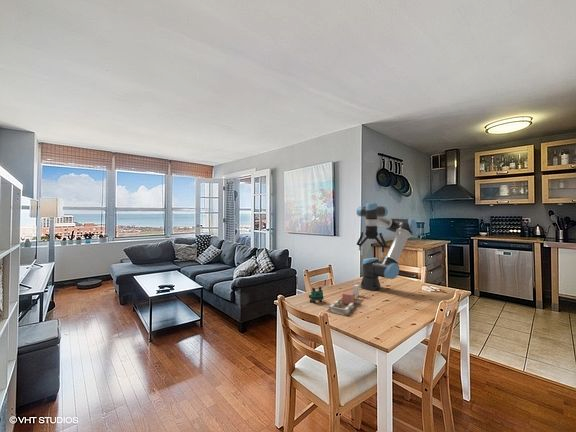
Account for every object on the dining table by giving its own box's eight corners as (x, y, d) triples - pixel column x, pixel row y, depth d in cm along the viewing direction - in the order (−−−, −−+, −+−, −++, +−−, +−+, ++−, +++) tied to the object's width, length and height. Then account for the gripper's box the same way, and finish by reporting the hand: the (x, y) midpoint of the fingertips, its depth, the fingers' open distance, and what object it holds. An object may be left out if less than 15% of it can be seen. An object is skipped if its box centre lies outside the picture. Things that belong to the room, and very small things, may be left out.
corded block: (352, 295, 183) (353, 284, 183) (361, 297, 180) (361, 285, 180) (342, 303, 164) (342, 290, 165) (351, 304, 161) (351, 292, 162)
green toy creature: (318, 284, 177) (324, 287, 167) (319, 300, 176) (325, 304, 166) (306, 285, 174) (311, 288, 165) (306, 301, 174) (312, 305, 164)
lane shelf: (343, 298, 178) (343, 292, 178) (363, 301, 171) (363, 295, 171) (326, 312, 153) (326, 306, 153) (349, 318, 145) (349, 311, 145)
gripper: (352, 225, 182) (352, 255, 183) (389, 226, 169) (389, 258, 170) (355, 224, 189) (355, 253, 189) (391, 225, 176) (391, 256, 176)
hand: (371, 256), depth 179 cm, fingers open, 13 cm apart
